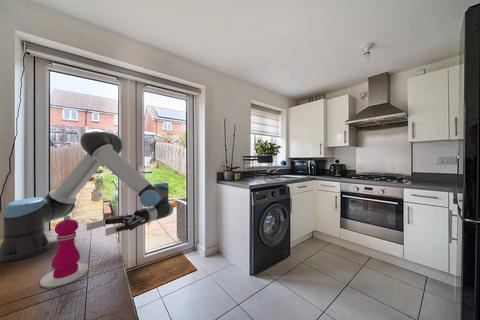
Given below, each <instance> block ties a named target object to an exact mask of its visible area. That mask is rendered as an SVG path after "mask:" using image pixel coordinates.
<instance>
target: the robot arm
mask: <svg viewBox="0 0 480 320" xmlns="http://www.w3.org/2000/svg"><path fill="white" fill-rule="evenodd" d="M80 147H82V149H83V150H84V152H85V153H86V154H85V155H84V156H83V157H82V158H81V159H80V161H79V162H78V163H77V164H76V166H75V167H74V168H73V169H72V170H71V171H70V172H69V174H68V175H67V176H66V177H65V178H64V179H63V181H62V182H61V184H60V185H59V186H58V187H57V188H56V189H52V190H50V191H49V192H48V193H47V195H46V196H45V197H41V196H39V197H35V196H34V197H27V198H21V199H17V200H14V201H10V202H8V203H7V204H5V206H4V210H3V214H2V216H3V227H2V228H3V234H2V235H3V236H2V237H3V239H2V242H1V244H0V263H9V262H14V261H19V260H24V259H27V258H31V257H35V256H37V255H39V254H42V253H43V252H46V251H48V250H49V248H50V241H49V238H48V237H47V235H46V233H45V224H46V223H49V222H52V221H55V220H58V219H62V218H64V217H65V216H66V215H70V214H71V213H72V212H74V209H75V208H76V202H77V195H78V194H79V193H80V192H81V190H82V189H83V188H84V186H86V184H87V183H88V182H89V181H90V180H91V178H92V177H93V176H94V175H95V173H96V172H97V171H98V170H99V169H100V167H101V166H102V165H104V166H105V167H106V168H107V169H108V170H109V171H110V172H111V173H112V174H114V175H115V176H116V177H117V178H118V179H119V180H120V181H121V182H122V183H124V185H125V186H126V187H128V188H129V189H131V191H132V192H133V193H134V194H136V195H137V196H138V197H139V200H140V203H141V205H142V206H144V208H140V209H136V210H135V211H134V213H133V214H128V213H126V214H121V215H115V216H109V217H108V216H107V217H103V218H102V219H100V220H96V221H93V222H88V223H86V231H91V230H95V229H98V228H99V229H100V228H101V227H106V226H107V225H108V226H109V225H112V226H109V227H107V228H105V237H108V236H111V235H114V234H118V233H120V232H123V231H124V232H125V231H132V230H134V229H136V228H137V227H140V226H142V225H145V224H151V223H152V222H154V221H157V220H161V219H164V218H166V217H167V218H168V217H169V216H171V215H172V213H173V212H174V207H173V204H172V203H170V202H169V190H170V188H169V183H168V182H166V181H165V182H155V183H153V184H151V182H149V181H148V180H147V179H146V178H145V177H144V176H143V175H142V174H141V173H140V172H139V171H138V170H136V168H134V166H132V165H131V164H130V163H129V162H127V160H126V159H124V158H123V157H122V156H121V155H120V153H121V152H122V151H123V150H124V142H123V139H122V138H121V137H120V135H117V134H115V133H113V132H109V131H104V130H101V129H96V128H95V129H89V130H87V131H85V132H83V134H82V135H81V137H80ZM115 224H116V225H115Z"/></svg>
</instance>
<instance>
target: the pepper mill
mask: <svg viewBox="0 0 480 320" xmlns="http://www.w3.org/2000/svg"><path fill="white" fill-rule="evenodd" d="M77 229H79V222H78V220H75V219H71V215H70V214H68V215H66V216H65V217H63V220H60V221H59V222H58V223H57V224H56V225H55V227H54V232H55V234H57V235H56V241H58V246H57V250H56V253H54V256H53V257H52V261H51V267H52V269H54V270H53V271H54V272H53V277H54V278H63V277H66V276H69V275H72V274H73V273H75V272H76V271H77V270H78V264H79V263H78V262H79V261H80V259H81V254H80V251H79V249H78V248H77V247H76V244H75V238H76V237H77Z"/></svg>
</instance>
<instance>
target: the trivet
mask: <svg viewBox="0 0 480 320" xmlns="http://www.w3.org/2000/svg"><path fill="white" fill-rule="evenodd" d="M77 264H78V270H77V271H76V272H75V273H73V274H72V275H69V276H66V277H63V278H54V277H53V272H54V270H52V271H50V272H48V273H46V274H45V275H43V277H42V278H40V280H39V281H40V282H39V284H40V287H42V288H46V289H47V288H56V287H60V286H64V285H66V284H69V283H72V282H75V281H76V280H79V279H81V278H82V277H83V276H85V275H86V274H87V273H88V272H89V265H88V264H87V263H77Z"/></svg>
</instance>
